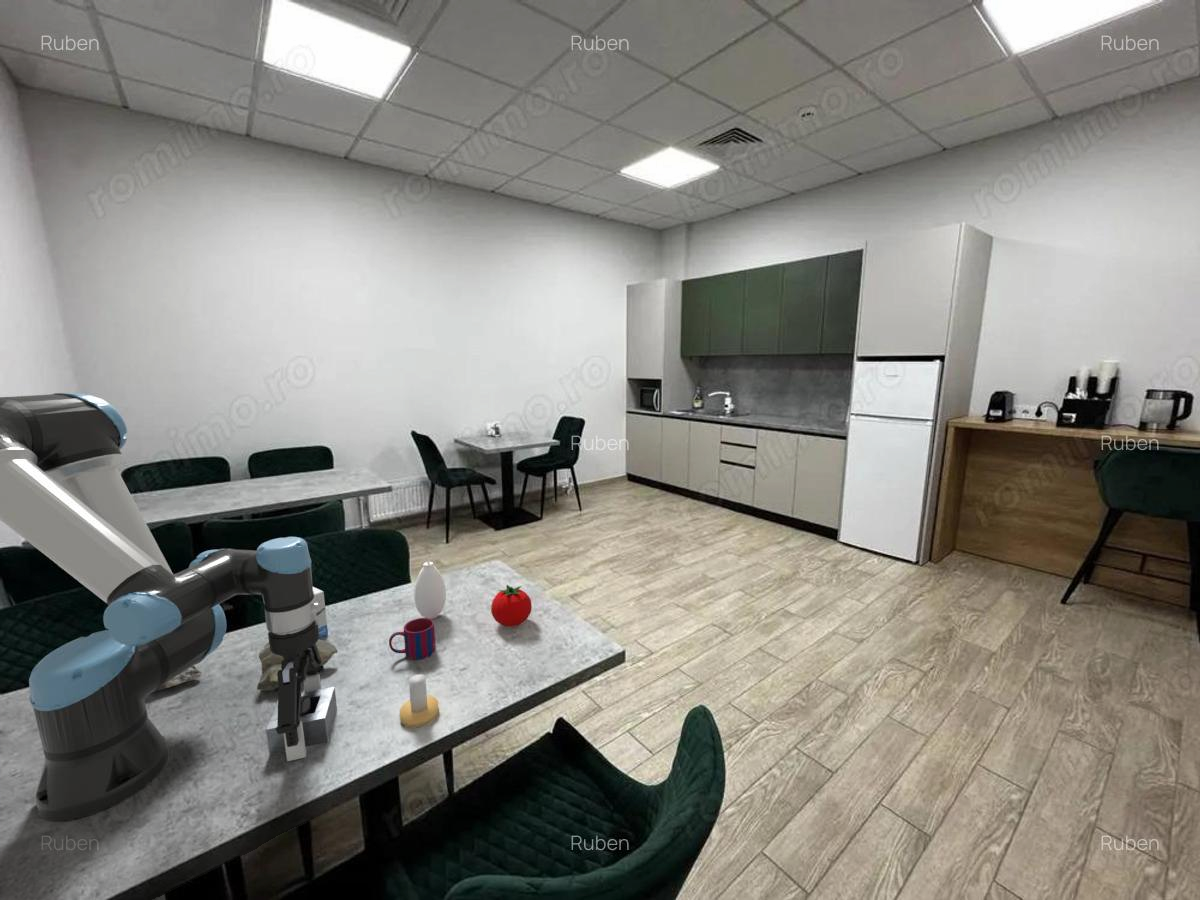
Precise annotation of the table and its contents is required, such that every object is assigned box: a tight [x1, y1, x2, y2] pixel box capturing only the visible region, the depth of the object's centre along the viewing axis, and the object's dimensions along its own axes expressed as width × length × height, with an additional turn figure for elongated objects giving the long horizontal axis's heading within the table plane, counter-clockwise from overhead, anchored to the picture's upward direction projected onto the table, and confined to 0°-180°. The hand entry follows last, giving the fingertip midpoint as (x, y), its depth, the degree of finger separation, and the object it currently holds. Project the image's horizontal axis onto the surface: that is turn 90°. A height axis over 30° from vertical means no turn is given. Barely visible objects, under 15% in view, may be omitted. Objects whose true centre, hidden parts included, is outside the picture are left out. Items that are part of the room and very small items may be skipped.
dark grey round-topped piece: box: [300, 696, 311, 716], centre depth 90 cm, size 4×4×6 cm
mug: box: [388, 617, 437, 661], centre depth 114 cm, size 7×10×7 cm
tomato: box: [490, 584, 532, 628], centre depth 127 cm, size 10×10×10 cm
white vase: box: [413, 553, 447, 620], centre depth 129 cm, size 8×8×18 cm
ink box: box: [313, 586, 329, 639], centre depth 122 cm, size 8×5×12 cm, turn 58°
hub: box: [399, 674, 440, 728], centre depth 94 cm, size 7×7×8 cm
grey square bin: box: [265, 686, 338, 756], centre depth 90 cm, size 9×9×5 cm
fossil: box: [256, 638, 339, 692], centre depth 106 cm, size 14×10×10 cm
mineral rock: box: [152, 665, 203, 693], centre depth 104 cm, size 15×8×4 cm, turn 73°
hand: (306, 730), depth 90 cm, fingers open, 13 cm apart
